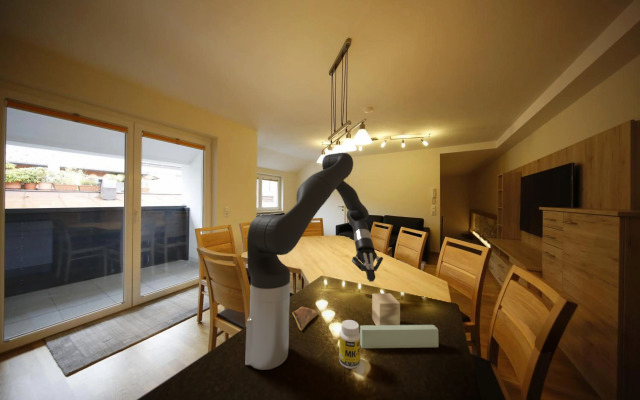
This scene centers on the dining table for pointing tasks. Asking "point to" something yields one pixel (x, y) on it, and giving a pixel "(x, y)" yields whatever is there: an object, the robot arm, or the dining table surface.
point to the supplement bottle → (349, 344)
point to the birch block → (385, 309)
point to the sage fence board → (398, 336)
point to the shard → (304, 316)
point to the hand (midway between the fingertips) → (372, 280)
